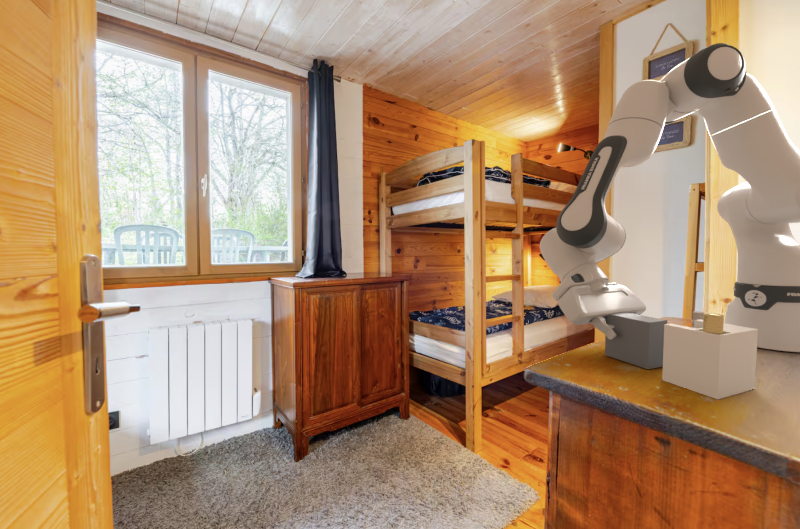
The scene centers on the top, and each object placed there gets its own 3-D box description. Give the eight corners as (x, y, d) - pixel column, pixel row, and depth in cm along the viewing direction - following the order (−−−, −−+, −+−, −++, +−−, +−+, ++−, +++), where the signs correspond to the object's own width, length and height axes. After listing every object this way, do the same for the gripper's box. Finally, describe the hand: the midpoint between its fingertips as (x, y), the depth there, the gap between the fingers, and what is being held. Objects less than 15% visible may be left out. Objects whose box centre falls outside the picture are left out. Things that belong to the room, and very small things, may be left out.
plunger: (707, 348, 56) (709, 312, 56) (725, 352, 54) (727, 315, 54) (698, 350, 55) (699, 313, 55) (716, 354, 53) (718, 316, 53)
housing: (698, 372, 64) (700, 319, 63) (754, 388, 56) (757, 329, 55) (662, 380, 60) (664, 324, 59) (717, 399, 53) (720, 335, 52)
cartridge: (621, 352, 75) (622, 311, 74) (665, 365, 67) (667, 320, 66) (604, 355, 73) (605, 313, 73) (647, 369, 65) (649, 322, 64)
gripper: (609, 290, 85) (649, 338, 77) (545, 295, 78) (581, 349, 69) (627, 273, 81) (671, 322, 72) (561, 278, 74) (602, 333, 65)
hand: (627, 336), depth 71 cm, fingers open, 6 cm apart
